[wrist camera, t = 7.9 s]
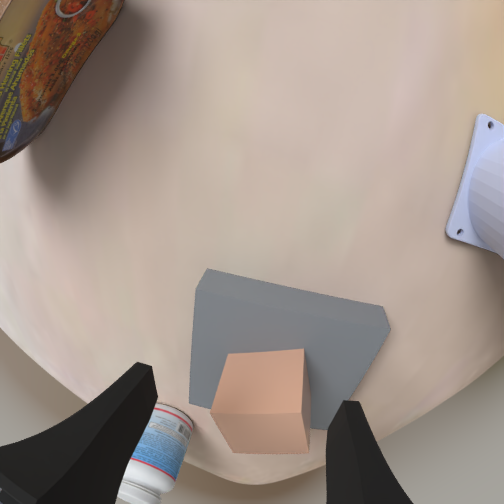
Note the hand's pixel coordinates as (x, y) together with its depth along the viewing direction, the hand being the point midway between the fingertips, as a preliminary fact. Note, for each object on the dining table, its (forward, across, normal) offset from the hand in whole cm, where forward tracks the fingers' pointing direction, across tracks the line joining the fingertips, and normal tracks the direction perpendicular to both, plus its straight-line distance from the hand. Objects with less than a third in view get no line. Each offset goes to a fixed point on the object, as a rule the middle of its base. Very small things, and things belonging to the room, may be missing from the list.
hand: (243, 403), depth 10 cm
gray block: (+10, -2, +7) cm, 13 cm away
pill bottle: (+10, +8, +20) cm, 24 cm away
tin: (+10, +15, -13) cm, 23 cm away
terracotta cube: (+8, -1, +7) cm, 10 cm away
